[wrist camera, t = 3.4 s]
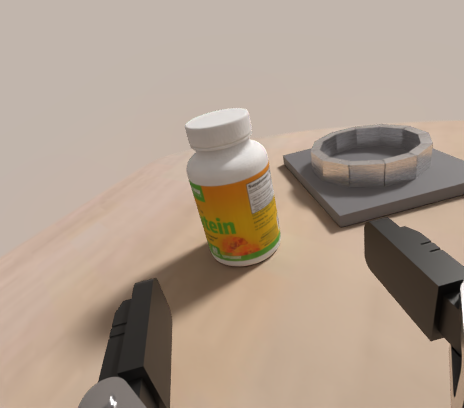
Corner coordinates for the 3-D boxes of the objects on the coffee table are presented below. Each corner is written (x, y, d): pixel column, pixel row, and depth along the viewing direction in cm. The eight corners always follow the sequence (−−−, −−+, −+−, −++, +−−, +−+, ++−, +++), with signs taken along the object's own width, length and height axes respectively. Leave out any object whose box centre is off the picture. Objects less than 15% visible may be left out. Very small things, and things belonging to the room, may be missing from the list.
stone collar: (341, 198, 24) (340, 175, 23) (300, 159, 33) (297, 141, 32) (457, 167, 25) (461, 143, 24) (386, 137, 33) (386, 118, 32)
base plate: (340, 227, 23) (340, 215, 22) (284, 164, 35) (283, 155, 35) (494, 186, 23) (496, 174, 23) (385, 137, 36) (385, 129, 35)
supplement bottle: (196, 255, 24) (155, 131, 19) (240, 219, 27) (213, 105, 22) (253, 278, 20) (218, 133, 16) (295, 233, 23) (277, 102, 19)
